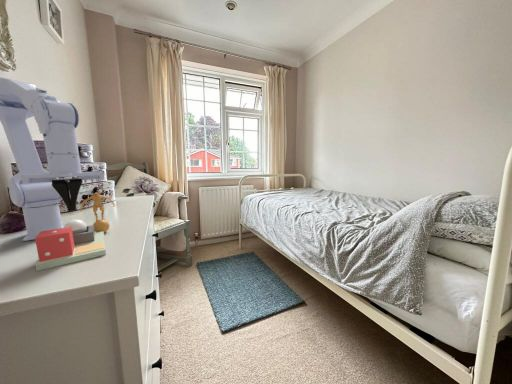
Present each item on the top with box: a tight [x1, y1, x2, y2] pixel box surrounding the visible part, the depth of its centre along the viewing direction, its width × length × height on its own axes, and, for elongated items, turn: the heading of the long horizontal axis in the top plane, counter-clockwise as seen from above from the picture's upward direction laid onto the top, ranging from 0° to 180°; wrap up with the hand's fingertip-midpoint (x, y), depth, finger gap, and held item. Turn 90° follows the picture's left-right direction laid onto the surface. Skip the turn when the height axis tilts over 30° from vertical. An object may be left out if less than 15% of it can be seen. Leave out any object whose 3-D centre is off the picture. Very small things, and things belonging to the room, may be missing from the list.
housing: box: [73, 224, 96, 245], centre depth 52 cm, size 7×7×2 cm
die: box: [34, 227, 75, 262], centre depth 44 cm, size 5×5×5 cm
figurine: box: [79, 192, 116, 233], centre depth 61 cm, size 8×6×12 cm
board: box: [35, 231, 107, 272], centre depth 50 cm, size 16×11×1 cm
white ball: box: [63, 219, 88, 234], centre depth 52 cm, size 4×4×4 cm
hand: (72, 210), depth 51 cm, fingers closed
